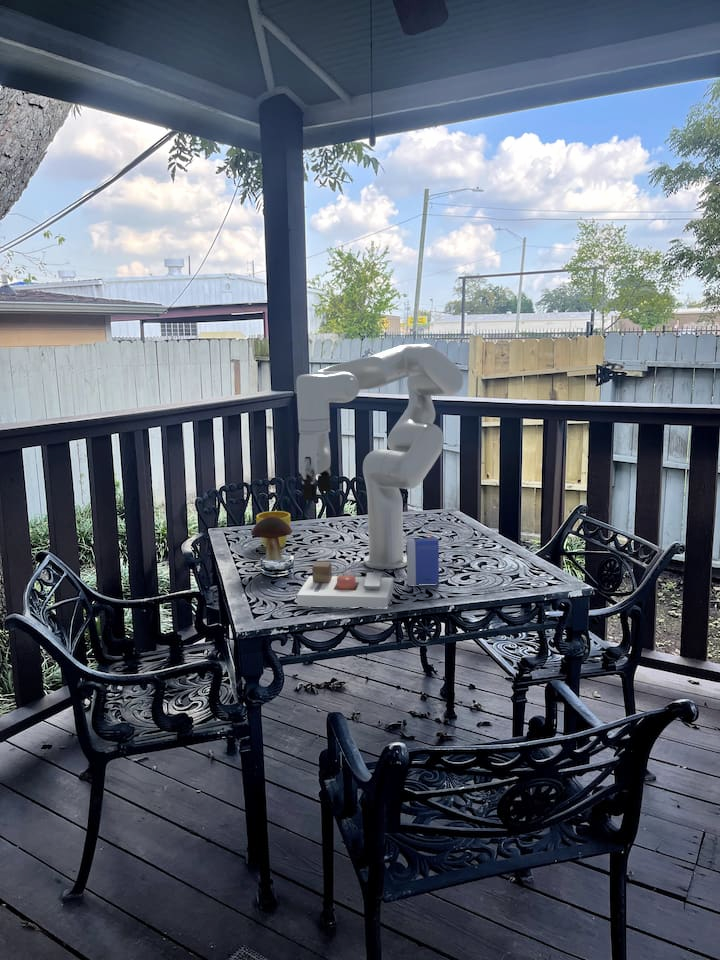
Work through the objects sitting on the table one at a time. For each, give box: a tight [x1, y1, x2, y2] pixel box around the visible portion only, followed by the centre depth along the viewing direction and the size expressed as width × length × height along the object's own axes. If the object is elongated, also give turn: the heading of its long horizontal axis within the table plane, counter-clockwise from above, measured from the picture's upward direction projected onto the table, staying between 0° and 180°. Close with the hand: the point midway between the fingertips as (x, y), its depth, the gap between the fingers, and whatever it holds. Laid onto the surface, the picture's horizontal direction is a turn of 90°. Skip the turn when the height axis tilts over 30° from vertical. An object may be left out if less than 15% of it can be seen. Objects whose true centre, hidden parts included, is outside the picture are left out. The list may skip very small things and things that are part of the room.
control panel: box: [296, 575, 394, 608], centre depth 156 cm, size 13×21×4 cm, turn 81°
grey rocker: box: [364, 571, 383, 589], centre depth 155 cm, size 6×4×1 cm, turn 171°
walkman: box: [405, 535, 440, 585], centre depth 163 cm, size 8×3×12 cm, turn 96°
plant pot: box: [255, 510, 291, 549], centre depth 200 cm, size 10×10×10 cm
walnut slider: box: [311, 561, 333, 582], centre depth 160 cm, size 3×4×4 cm
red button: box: [337, 574, 356, 590], centre depth 156 cm, size 4×4×3 cm
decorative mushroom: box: [251, 516, 293, 561], centre depth 177 cm, size 11×11×15 cm
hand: (317, 495), depth 160 cm, fingers open, 9 cm apart
